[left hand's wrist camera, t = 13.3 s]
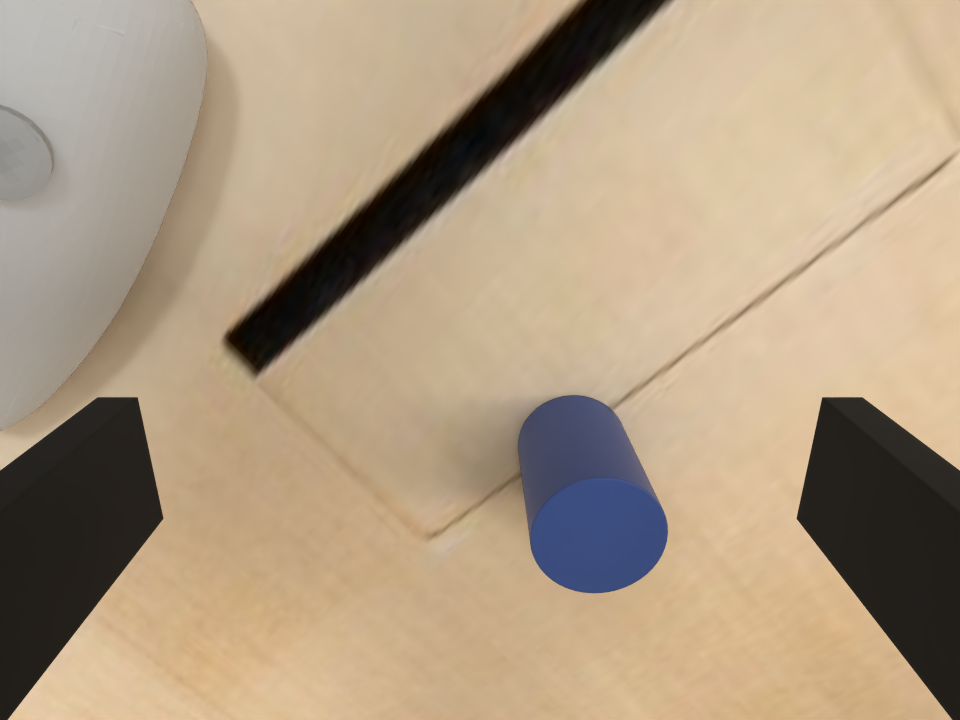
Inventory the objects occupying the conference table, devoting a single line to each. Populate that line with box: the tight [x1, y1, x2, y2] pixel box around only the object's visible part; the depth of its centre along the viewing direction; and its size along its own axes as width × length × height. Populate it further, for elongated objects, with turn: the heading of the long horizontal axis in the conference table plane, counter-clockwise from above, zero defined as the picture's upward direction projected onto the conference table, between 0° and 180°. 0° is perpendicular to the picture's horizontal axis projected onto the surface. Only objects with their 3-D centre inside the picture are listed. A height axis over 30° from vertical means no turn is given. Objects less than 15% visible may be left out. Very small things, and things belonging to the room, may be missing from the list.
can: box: [518, 396, 668, 593], centre depth 30 cm, size 6×6×8 cm
